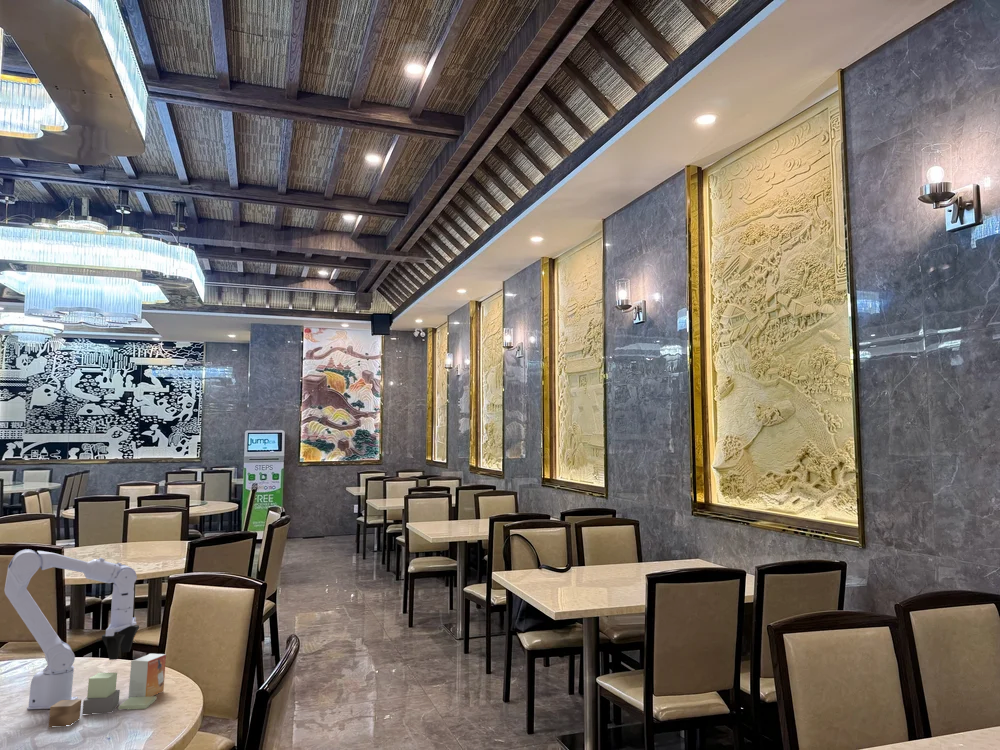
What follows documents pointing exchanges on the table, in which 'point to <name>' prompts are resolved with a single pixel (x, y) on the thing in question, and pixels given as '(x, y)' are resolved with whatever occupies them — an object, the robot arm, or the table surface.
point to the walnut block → (64, 712)
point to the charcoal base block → (101, 704)
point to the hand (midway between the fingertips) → (119, 655)
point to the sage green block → (102, 685)
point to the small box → (147, 675)
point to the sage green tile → (137, 702)
